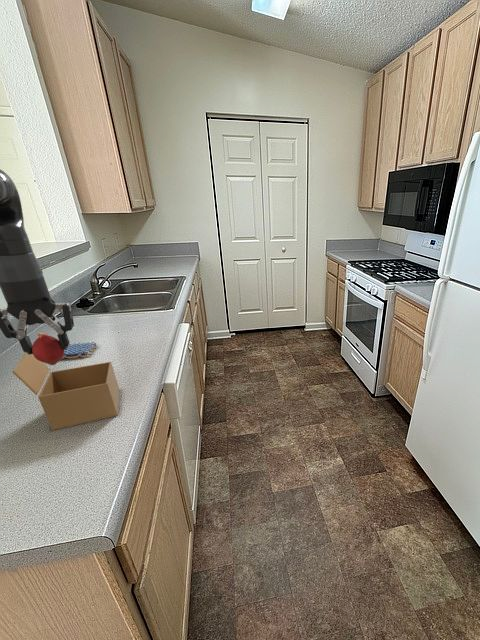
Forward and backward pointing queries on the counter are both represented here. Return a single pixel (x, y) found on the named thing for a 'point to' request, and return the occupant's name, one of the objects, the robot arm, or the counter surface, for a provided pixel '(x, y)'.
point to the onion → (47, 349)
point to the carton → (80, 395)
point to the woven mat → (79, 350)
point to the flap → (31, 372)
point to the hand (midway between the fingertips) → (48, 350)
